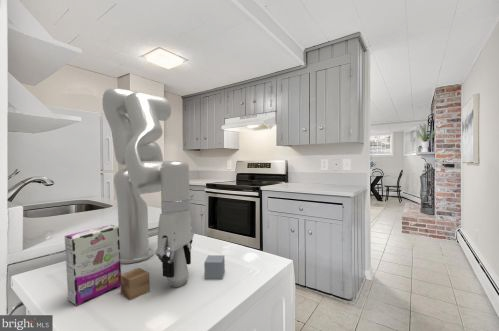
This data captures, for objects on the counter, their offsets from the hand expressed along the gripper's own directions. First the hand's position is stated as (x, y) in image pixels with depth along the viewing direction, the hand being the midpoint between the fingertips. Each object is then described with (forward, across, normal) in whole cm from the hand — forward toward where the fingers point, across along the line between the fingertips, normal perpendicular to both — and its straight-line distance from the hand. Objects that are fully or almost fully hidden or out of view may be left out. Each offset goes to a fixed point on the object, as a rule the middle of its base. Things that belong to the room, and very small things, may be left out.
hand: (177, 269), depth 67 cm
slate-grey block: (+4, -7, +8) cm, 11 cm away
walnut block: (+4, +7, -8) cm, 11 cm away
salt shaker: (+4, 0, 0) cm, 4 cm away
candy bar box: (+4, +10, -18) cm, 21 cm away
